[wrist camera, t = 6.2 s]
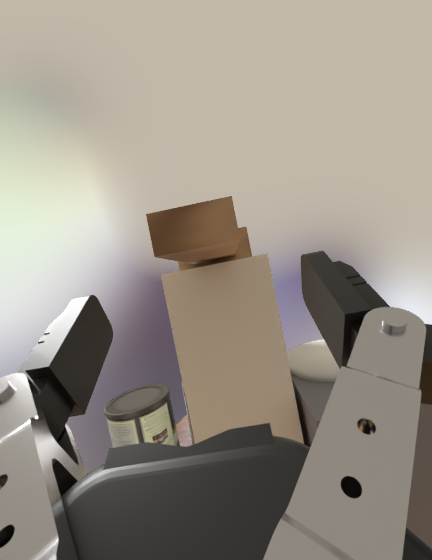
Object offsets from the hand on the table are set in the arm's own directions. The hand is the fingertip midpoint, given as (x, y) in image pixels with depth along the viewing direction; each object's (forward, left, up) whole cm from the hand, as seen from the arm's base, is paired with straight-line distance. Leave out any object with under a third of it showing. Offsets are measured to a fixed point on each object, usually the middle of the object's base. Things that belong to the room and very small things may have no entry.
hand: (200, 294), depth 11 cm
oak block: (0, +13, +1) cm, 14 cm away
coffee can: (-18, +33, -31) cm, 49 cm away
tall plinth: (0, +19, -31) cm, 36 cm away
